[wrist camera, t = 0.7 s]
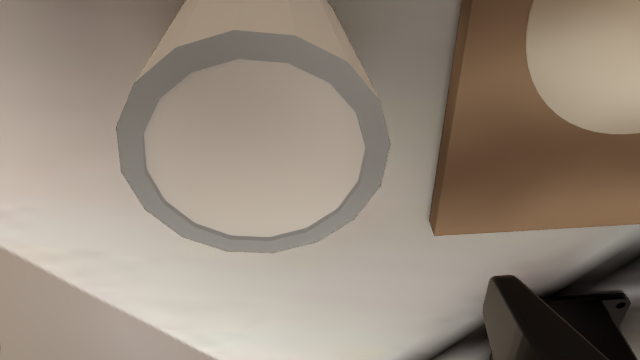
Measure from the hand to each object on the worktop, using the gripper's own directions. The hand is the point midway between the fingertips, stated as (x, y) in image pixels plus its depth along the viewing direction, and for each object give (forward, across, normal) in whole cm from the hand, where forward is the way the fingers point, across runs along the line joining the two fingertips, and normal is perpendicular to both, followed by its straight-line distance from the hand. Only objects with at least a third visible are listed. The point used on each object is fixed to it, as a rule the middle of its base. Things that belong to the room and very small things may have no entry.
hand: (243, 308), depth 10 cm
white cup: (+12, 0, 0) cm, 12 cm away
